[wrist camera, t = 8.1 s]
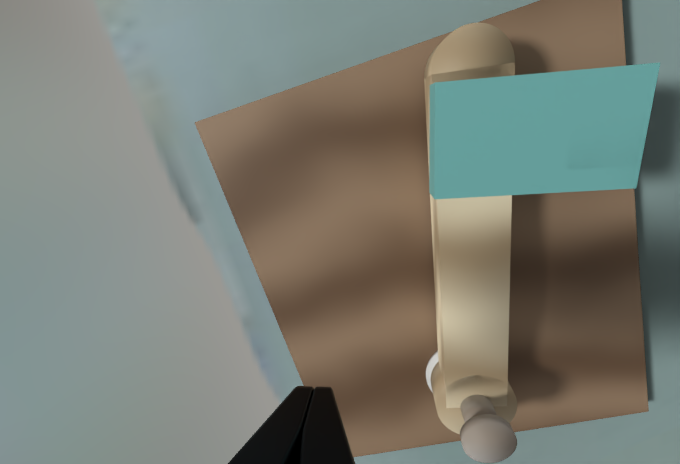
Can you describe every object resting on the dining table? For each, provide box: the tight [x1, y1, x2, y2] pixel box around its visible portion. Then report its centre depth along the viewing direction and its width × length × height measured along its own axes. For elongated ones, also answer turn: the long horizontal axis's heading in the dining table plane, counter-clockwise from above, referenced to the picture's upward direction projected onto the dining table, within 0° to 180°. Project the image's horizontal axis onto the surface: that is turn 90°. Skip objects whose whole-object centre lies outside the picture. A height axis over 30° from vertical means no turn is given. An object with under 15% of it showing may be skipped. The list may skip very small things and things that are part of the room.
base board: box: [195, 0, 648, 457], centre depth 19 cm, size 22×19×1 cm
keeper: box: [426, 63, 660, 392], centre depth 16 cm, size 18×7×4 cm, turn 4°
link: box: [424, 23, 517, 463], centre depth 16 cm, size 20×4×4 cm, turn 7°
